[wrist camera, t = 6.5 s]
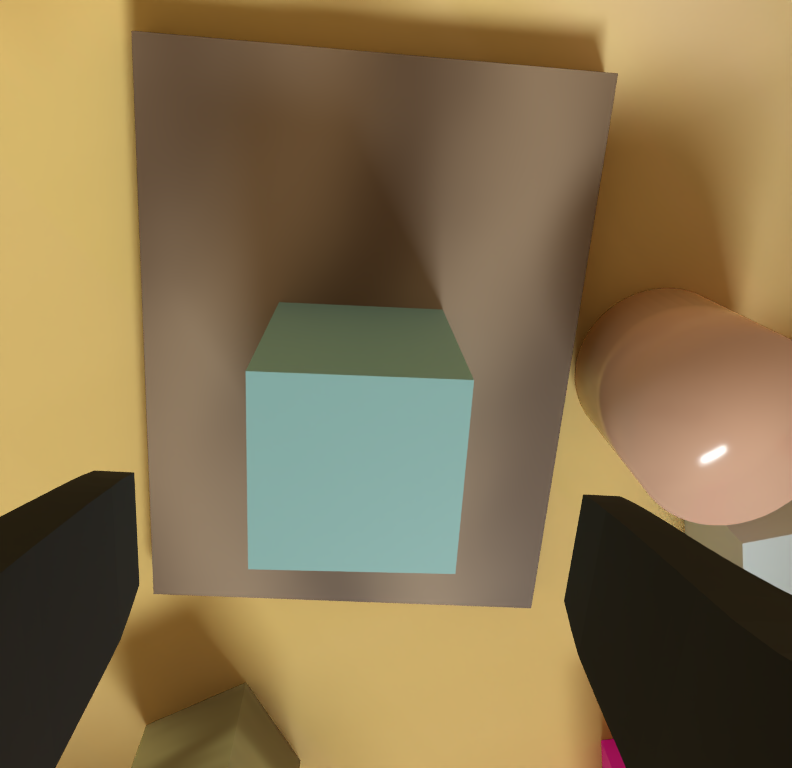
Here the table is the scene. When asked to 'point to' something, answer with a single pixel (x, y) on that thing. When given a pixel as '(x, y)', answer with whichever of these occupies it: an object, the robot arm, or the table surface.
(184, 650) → the table surface
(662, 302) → the peach rounded piece
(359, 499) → the teal block
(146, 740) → the olive block
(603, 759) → the toy block
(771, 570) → the grey cube
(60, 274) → the table surface
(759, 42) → the table surface
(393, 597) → the board
